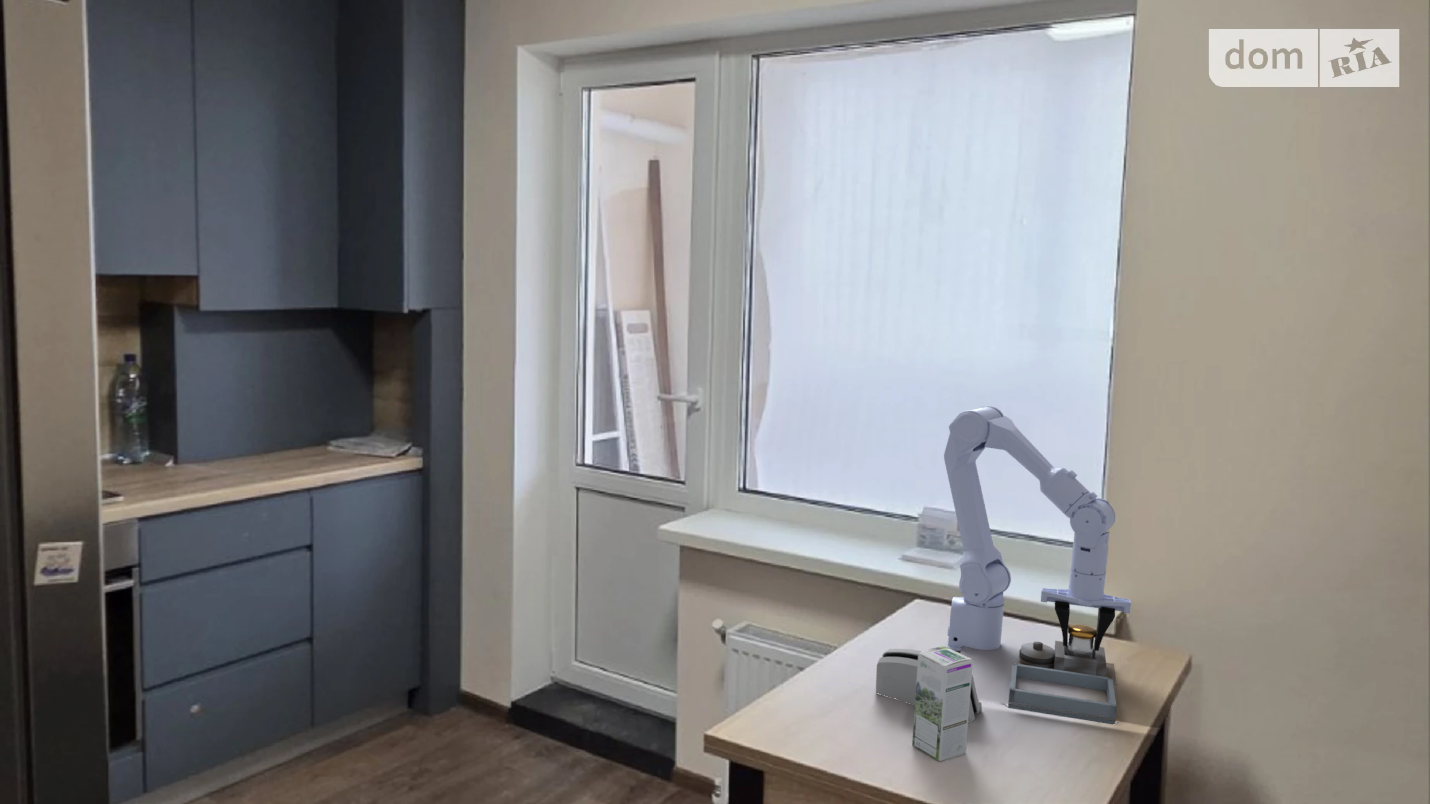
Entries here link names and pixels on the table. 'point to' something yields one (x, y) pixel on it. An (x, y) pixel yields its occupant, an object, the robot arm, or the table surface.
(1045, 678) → the tray
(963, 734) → the syrup box
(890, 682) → the grey toaster
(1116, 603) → the robot arm
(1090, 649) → the gold-rimmed cylinder
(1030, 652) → the board
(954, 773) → the table surface
